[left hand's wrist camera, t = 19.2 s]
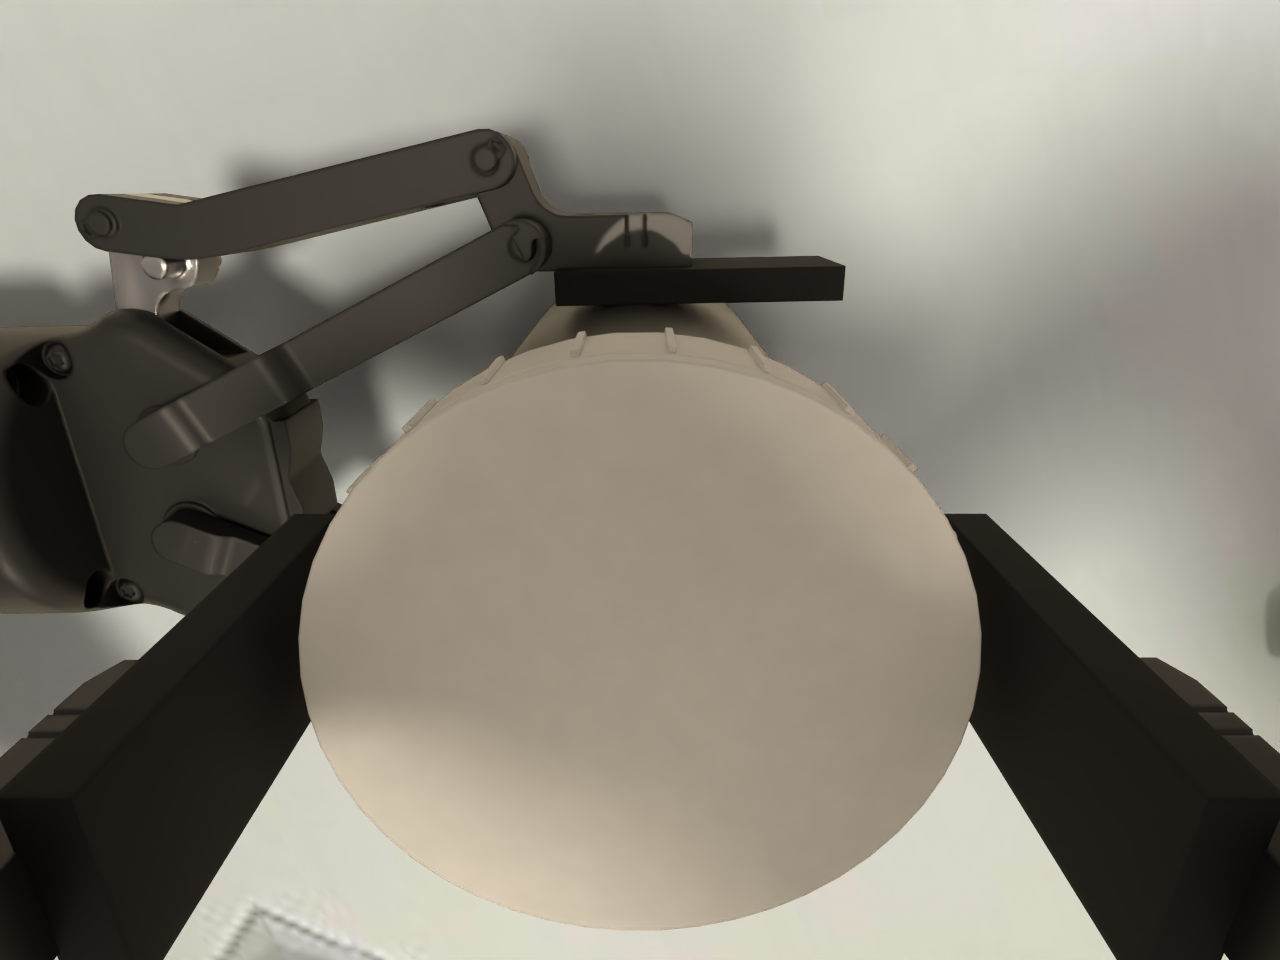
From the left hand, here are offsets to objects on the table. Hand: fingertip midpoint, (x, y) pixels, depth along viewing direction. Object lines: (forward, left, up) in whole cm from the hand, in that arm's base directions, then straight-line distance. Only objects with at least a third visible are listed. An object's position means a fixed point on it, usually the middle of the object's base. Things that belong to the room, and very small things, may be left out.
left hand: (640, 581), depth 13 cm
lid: (0, 0, +3) cm, 3 cm away
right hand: (-4, -3, -7) cm, 8 cm away
